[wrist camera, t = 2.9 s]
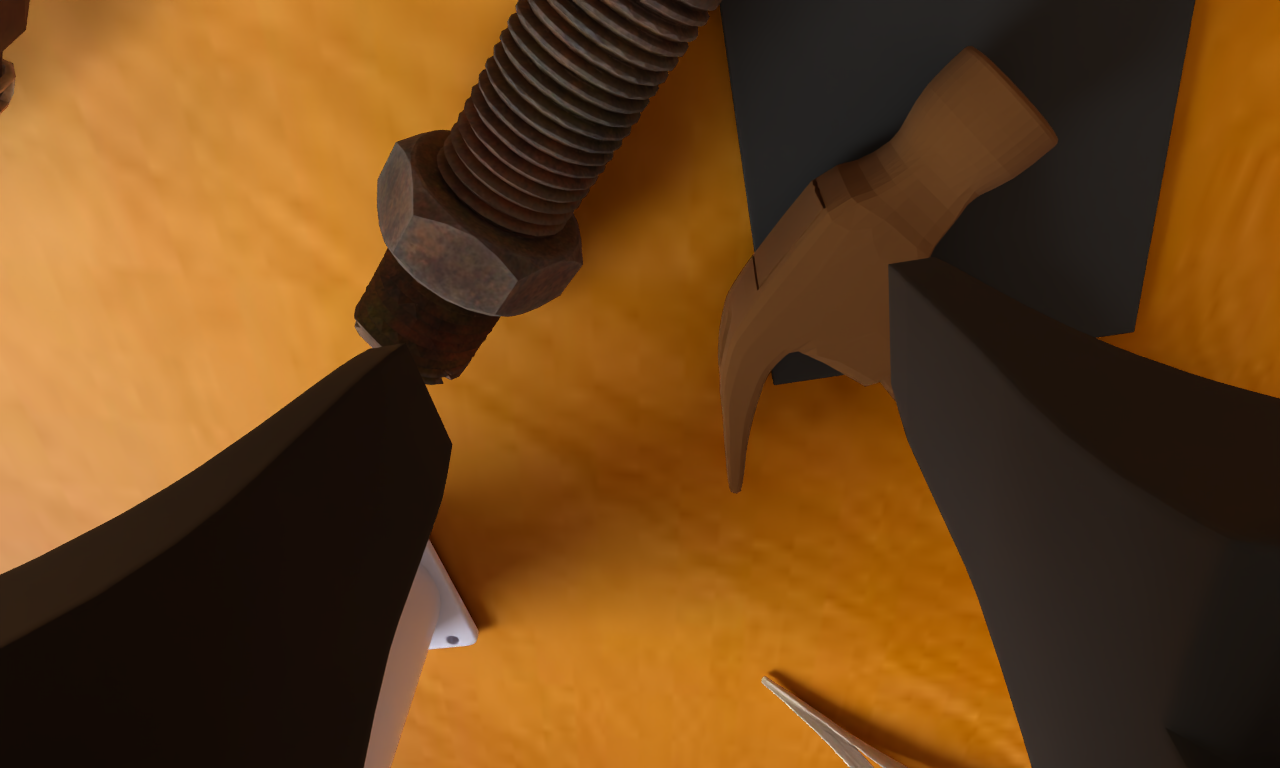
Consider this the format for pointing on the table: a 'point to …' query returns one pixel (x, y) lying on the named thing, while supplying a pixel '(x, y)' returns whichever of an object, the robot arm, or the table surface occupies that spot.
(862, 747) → the tweezers
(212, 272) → the table surface
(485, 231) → the bolt
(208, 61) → the table surface
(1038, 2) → the mat
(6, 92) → the goggles
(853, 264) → the hammer
